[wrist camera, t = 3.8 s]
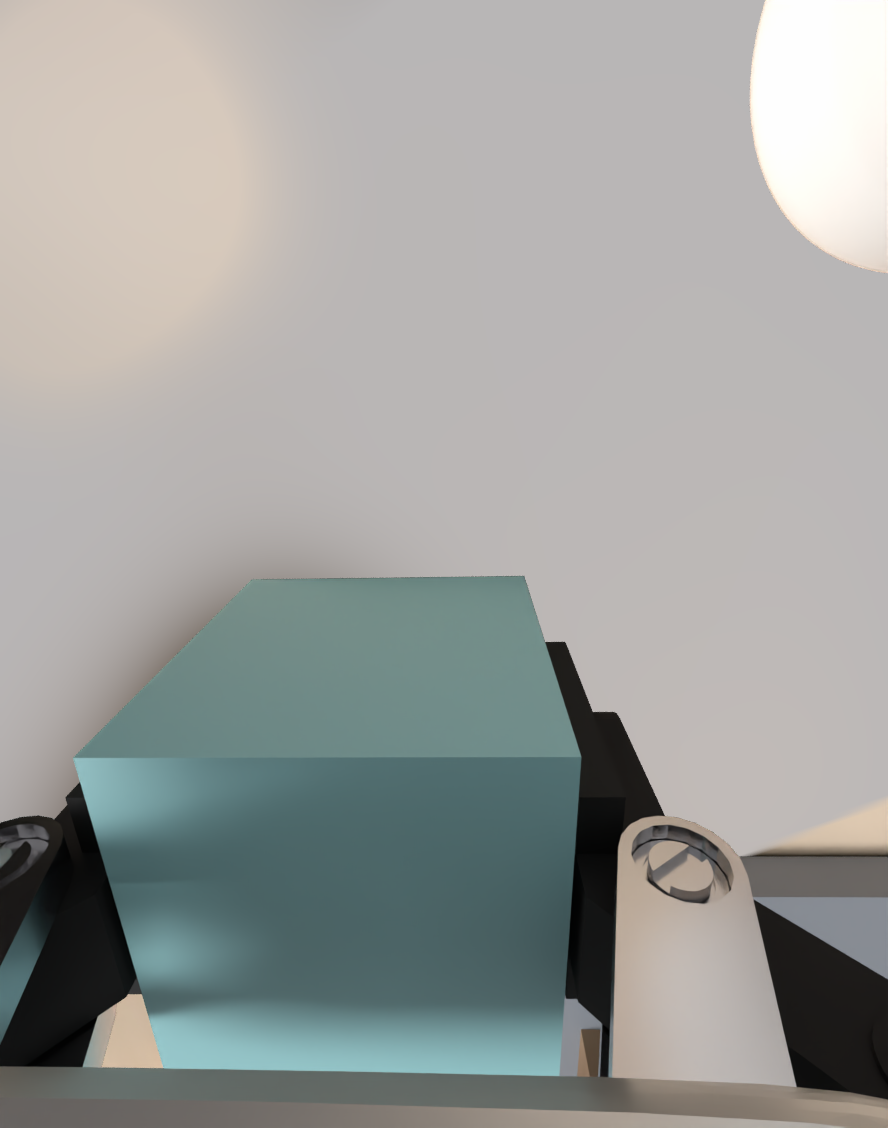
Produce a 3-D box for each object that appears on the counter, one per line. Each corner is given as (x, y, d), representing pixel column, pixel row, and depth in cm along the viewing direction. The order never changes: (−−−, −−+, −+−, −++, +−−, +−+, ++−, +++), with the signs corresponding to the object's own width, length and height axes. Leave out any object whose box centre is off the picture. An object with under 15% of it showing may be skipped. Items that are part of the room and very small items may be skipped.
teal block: (252, 579, 10) (72, 757, 5) (523, 576, 10) (581, 757, 5) (284, 798, 12) (167, 1080, 7) (518, 798, 12) (558, 1088, 7)
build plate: (401, 856, 12) (396, 895, 11) (1048, 857, 12) (1098, 898, 11) (423, 1213, 17) (421, 1264, 16) (895, 1224, 16) (921, 1276, 15)
